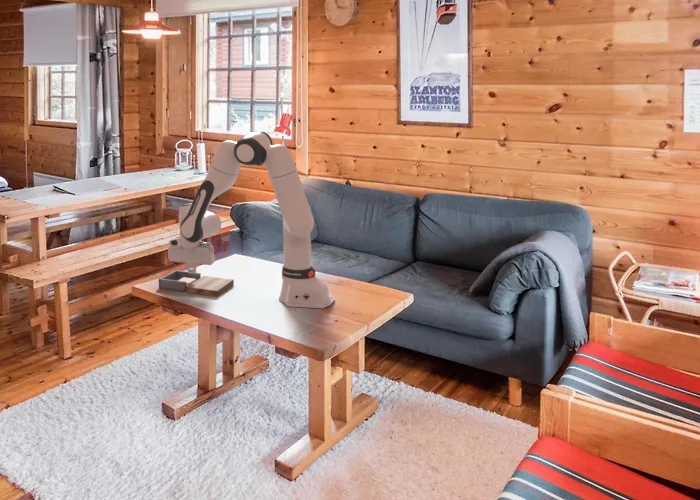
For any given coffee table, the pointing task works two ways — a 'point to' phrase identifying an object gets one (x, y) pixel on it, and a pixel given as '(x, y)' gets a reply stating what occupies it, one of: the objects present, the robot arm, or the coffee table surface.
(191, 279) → the tile
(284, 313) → the coffee table surface
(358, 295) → the coffee table surface
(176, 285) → the box
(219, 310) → the coffee table surface
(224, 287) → the board
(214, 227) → the robot arm
